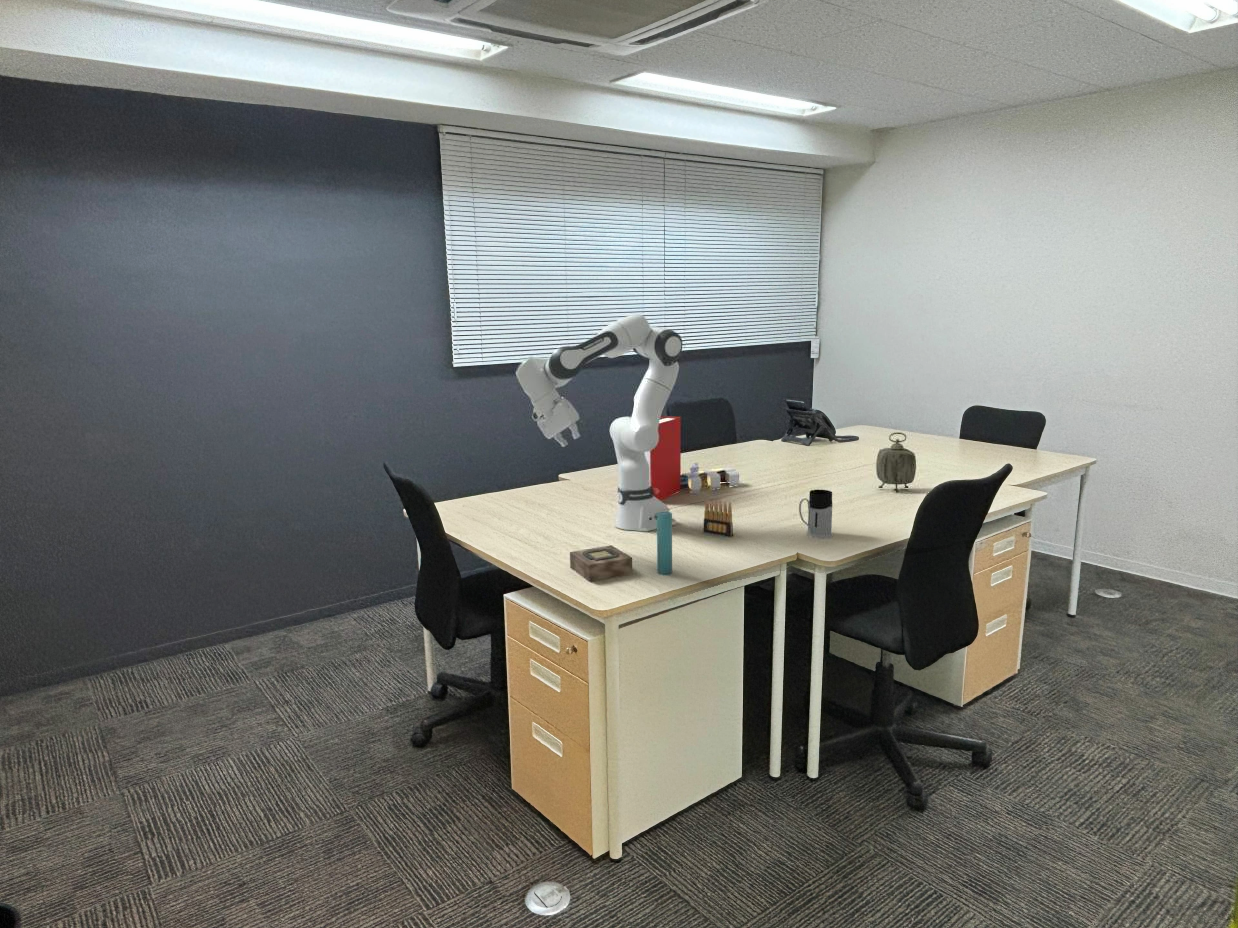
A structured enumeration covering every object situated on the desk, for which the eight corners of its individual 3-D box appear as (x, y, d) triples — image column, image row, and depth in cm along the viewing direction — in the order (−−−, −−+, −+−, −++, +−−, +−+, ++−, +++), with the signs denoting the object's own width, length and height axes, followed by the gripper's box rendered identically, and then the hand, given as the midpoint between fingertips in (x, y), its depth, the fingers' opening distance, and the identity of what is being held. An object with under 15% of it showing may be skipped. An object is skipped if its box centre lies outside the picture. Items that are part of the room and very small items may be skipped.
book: (651, 504, 309) (651, 425, 303) (634, 501, 313) (633, 424, 307) (682, 490, 332) (682, 416, 326) (665, 488, 336) (665, 415, 330)
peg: (667, 568, 231) (667, 510, 228) (674, 573, 228) (674, 514, 224) (654, 571, 230) (654, 512, 226) (662, 575, 226) (661, 516, 222)
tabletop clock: (909, 488, 328) (913, 430, 323) (915, 493, 319) (919, 434, 314) (874, 488, 330) (877, 430, 325) (879, 493, 321) (882, 434, 316)
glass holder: (838, 535, 263) (839, 492, 260) (808, 542, 255) (809, 498, 252) (818, 529, 270) (820, 487, 267) (789, 536, 263) (790, 493, 260)
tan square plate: (604, 553, 234) (604, 550, 233) (612, 558, 229) (612, 555, 229) (588, 556, 231) (588, 553, 231) (596, 561, 226) (596, 558, 226)
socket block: (611, 560, 240) (611, 544, 239) (632, 573, 228) (632, 556, 227) (570, 567, 234) (569, 551, 233) (589, 581, 222) (589, 564, 221)
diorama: (691, 494, 326) (691, 464, 323) (678, 489, 335) (678, 460, 332) (739, 487, 337) (739, 458, 335) (725, 483, 346) (725, 454, 344)
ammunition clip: (733, 535, 264) (733, 501, 262) (730, 537, 263) (731, 503, 261) (705, 531, 270) (705, 498, 268) (703, 532, 269) (703, 499, 267)
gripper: (569, 390, 240) (592, 428, 240) (544, 410, 257) (566, 445, 258) (554, 398, 236) (577, 437, 237) (529, 418, 254) (551, 454, 254)
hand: (571, 441), depth 247 cm, fingers open, 8 cm apart
